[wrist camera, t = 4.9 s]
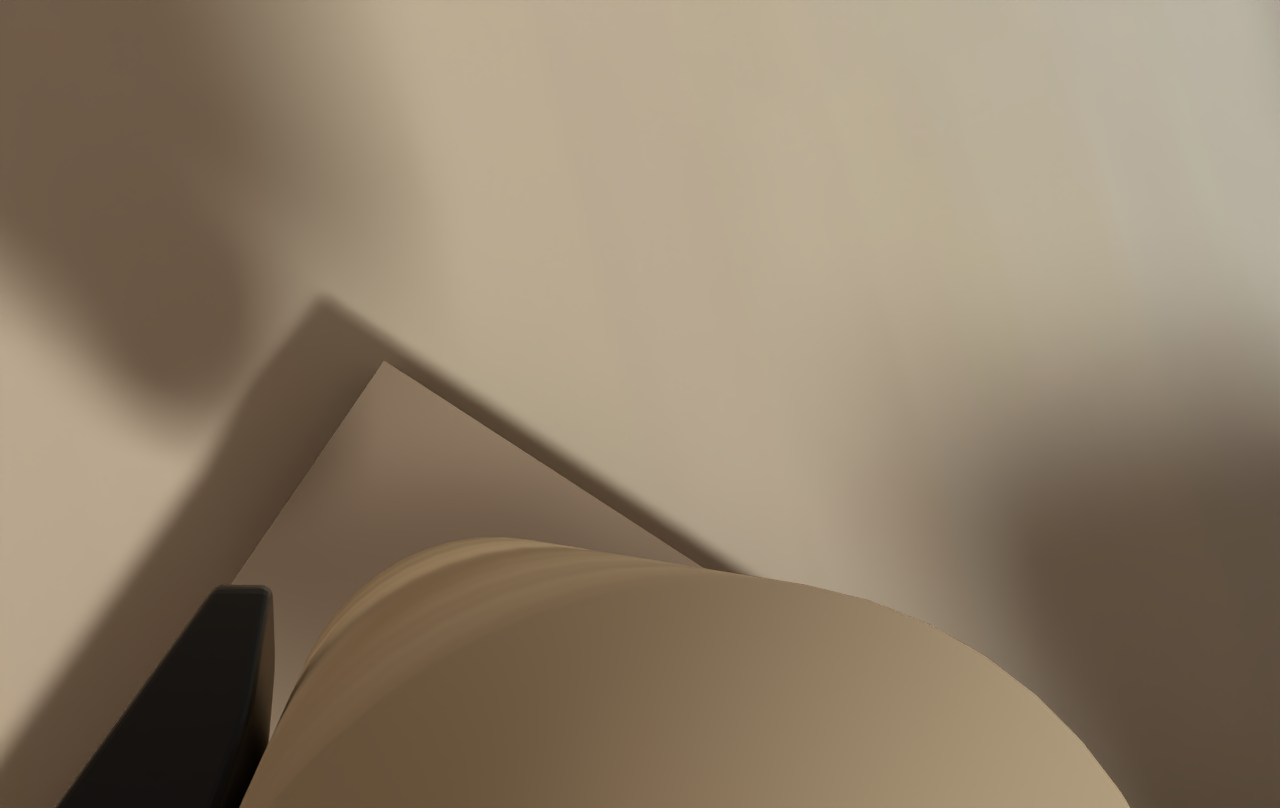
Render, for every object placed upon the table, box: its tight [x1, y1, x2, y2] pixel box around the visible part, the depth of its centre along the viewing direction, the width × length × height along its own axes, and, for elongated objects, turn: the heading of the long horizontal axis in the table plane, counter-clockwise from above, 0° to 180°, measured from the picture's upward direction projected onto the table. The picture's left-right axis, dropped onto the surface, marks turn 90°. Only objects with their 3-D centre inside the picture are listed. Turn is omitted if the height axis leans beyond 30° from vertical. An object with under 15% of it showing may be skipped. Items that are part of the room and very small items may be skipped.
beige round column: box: [239, 537, 1130, 808], centre depth 9 cm, size 4×4×11 cm
